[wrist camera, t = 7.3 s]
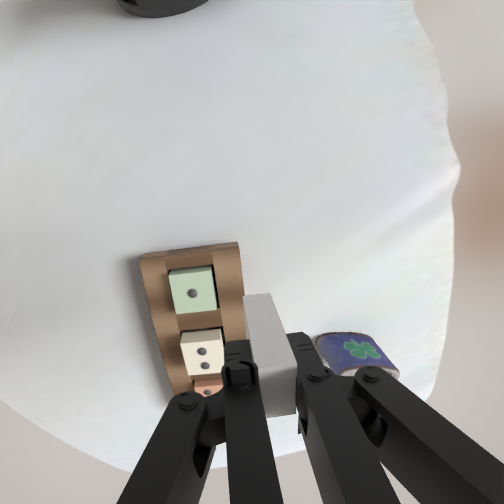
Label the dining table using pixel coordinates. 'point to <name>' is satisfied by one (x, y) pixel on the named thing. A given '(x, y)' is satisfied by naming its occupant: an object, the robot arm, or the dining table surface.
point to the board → (174, 324)
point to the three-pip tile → (208, 386)
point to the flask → (353, 353)
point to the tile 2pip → (203, 351)
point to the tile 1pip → (193, 289)
